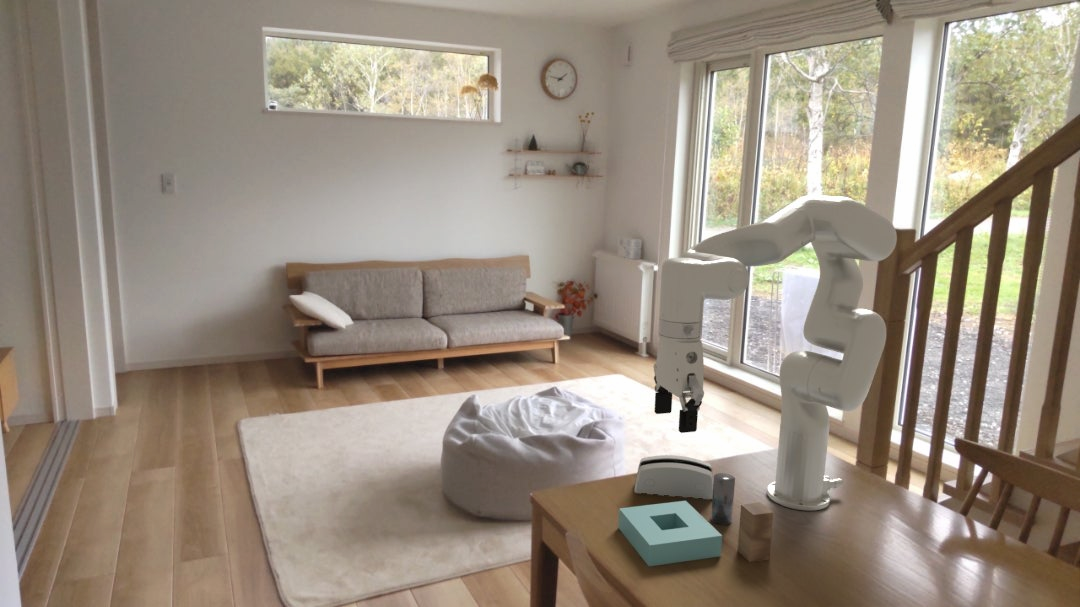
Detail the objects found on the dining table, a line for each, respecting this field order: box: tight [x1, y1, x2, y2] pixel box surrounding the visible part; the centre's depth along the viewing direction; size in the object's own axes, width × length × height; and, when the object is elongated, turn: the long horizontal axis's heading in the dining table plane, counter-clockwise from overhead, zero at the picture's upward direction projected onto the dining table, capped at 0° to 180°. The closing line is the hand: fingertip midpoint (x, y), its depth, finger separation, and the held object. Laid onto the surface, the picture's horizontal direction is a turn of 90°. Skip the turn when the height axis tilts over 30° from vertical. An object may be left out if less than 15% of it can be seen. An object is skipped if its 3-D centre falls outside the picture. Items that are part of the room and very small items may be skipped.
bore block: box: [617, 500, 723, 567], centre depth 133 cm, size 14×14×4 cm
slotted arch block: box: [633, 454, 714, 500], centre depth 153 cm, size 17×5×10 cm, turn 81°
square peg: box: [737, 502, 774, 563], centre depth 129 cm, size 4×4×9 cm
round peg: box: [710, 472, 736, 526], centre depth 142 cm, size 4×4×9 cm
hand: (674, 422), depth 129 cm, fingers open, 9 cm apart
